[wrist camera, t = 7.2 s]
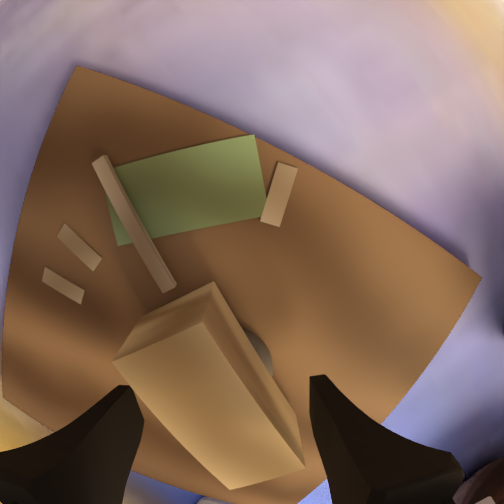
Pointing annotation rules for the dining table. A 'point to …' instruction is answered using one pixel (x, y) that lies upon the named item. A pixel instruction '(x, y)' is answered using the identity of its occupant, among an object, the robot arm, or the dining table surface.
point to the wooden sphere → (483, 485)
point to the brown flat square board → (212, 272)
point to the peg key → (205, 372)
